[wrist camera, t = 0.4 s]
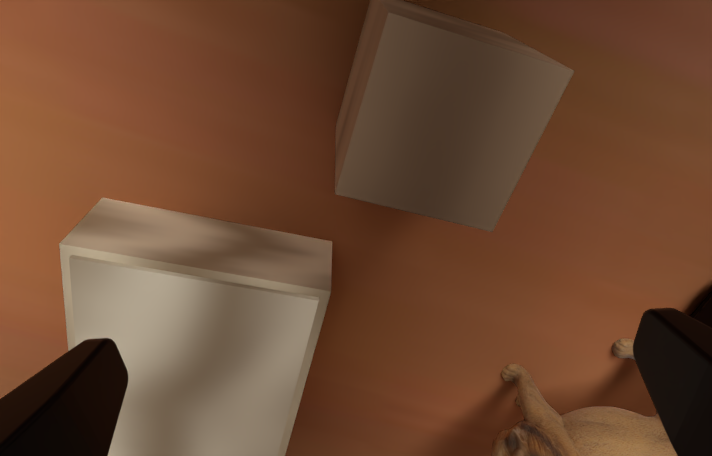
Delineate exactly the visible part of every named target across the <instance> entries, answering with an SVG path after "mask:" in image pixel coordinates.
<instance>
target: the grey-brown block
mask: <svg viewBox="0 0 712 456" xmlns="http://www.w3.org/2000/svg"><path fill="white" fill-rule="evenodd" d="M573 73H574V70H572V69H570V68H568V67H566V66H564V65H563V64H561V63H559V62H557V61H555V60H553V59H551V58H550V57H548V56H546V55H544V54H542V53H540V52H538V51H537V50H535V49H533V48H531V47H529V46H527V45H525V44H524V43H522V42H520V41H518V40H516V39H514V38H513V37H511V36H509V35H507V34H505V33H503V32H500V31H497V30H493V29H490V28H487V27H484V26H481V25H478V24H475V23H472V22H469V21H465V20H462V19H459V18H456V17H453V16H450V15H447V14H444V13H441V12H437V11H434V10H431V9H428V8H425V7H422V6H419V5H416V4H413V3H409V2H406V1H403V0H370V2H369V6H368V10H367V13H366V17H365V21H364V24H363V28H362V32H361V35H360V39H359V42H358V46H357V50H356V53H355V57H354V61H353V64H352V68H351V72H350V75H349V79H348V83H347V86H346V90H345V94H344V97H343V101H342V105H341V108H340V112H339V115H338V119H337V123H336V139H335V194H336V195H340V196H345V197H349V198H353V199H357V200H361V201H365V202H370V203H374V204H378V205H382V206H386V207H390V208H394V209H399V210H403V211H407V212H411V213H415V214H419V215H424V216H428V217H432V218H436V219H440V220H444V221H448V222H453V223H457V224H461V225H465V226H469V227H473V228H478V229H482V230H486V231H490V232H493V230H494V228H495V226H496V224H497V222H498V220H499V218H500V216H501V214H502V212H503V210H504V208H505V206H506V204H507V202H508V200H509V198H510V196H511V194H512V192H513V190H514V188H515V186H516V185H517V183H518V181H519V179H520V177H521V175H522V173H523V171H524V169H525V167H526V165H527V163H528V161H529V159H530V157H531V155H532V153H533V151H534V149H535V147H536V145H537V143H538V141H539V139H540V137H541V135H542V133H543V132H544V130H545V128H546V126H547V124H548V122H549V120H550V118H551V116H552V114H553V112H554V110H555V108H556V106H557V104H558V102H559V100H560V98H561V96H562V94H563V92H564V90H565V88H566V86H567V84H568V82H569V81H570V79H571V77H572V75H573Z"/></svg>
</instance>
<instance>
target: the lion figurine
mask: <svg viewBox="0 0 712 456" xmlns="http://www.w3.org/2000/svg"><path fill="white" fill-rule="evenodd" d="M633 343H634V341H633V340H631V339H628V338H623V339H619V340H618V341H616V342H615V343H614V344H613V348H612V351H613V353H614V355H615V356H617V357H618V358H631V359H634V355H633ZM634 360H635V359H634ZM501 375H502V376H503V379H504V380H505V381H512V382H513V383H514V384H515V386H516V387H517V388H518V396H517V400H516V404H517V405H518V406H520V407H521V410H522V413H523V416H524V420H523V421H520V422H518V423H517V424H515V425H514V426H513V427H512V428H511V429H505V430H504V431H500V432H499V433H498V436H497V438H496V439H495V440H494V441H493V449H492V456H677V454H676V452H675V450H674V448H673V446H672V444H671V442H670V440H669V438H668V436H667V433H666V431H665V429H664V427H663V424H662V422H661V420H660V417H659V415H658V413H656V415H655V416H653V417H646V416H643V415H641V414H638V413H635V412H632V411H628V410H625V409H621V408H616V407H609V406H593V407H586V408H581V409H578V410H574V411H571V412H568V413H565V414H563V415H559V414H558V413H557V412H556V411H555V410H554V409H553V408H552V407H551V406H549V404H548V403H547V402H546V401H545V399H544V398H543V396H542V395H541V393H540V391H539V390H538V388H537V387H536V385H535V383H534V381H533V379H532V377H531V376H530V375H529V373H528V372H527V371H526V370H525V369H524V368H523V367H522V366H521V365H518V364H509V365H507V366H506V367H505V368H503V370H502V372H501ZM656 412H657V410H656Z"/></svg>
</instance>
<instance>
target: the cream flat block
mask: <svg viewBox="0 0 712 456" xmlns="http://www.w3.org/2000/svg"><path fill="white" fill-rule="evenodd" d="M59 247H60V259H61V270H62V282H63V293H64V305H65V317H66V328H67V340H68V351H70V350H71V349H72V348H74V347H75V346H77V345H78V344H80V343H81V342H83V341H84V340H87V339H95V338H110V339H112V340H113V341H114V342H115V343H116V345H117V348H118V350H119V352H120V355H121V357H122V359H123V361H124V364H125V366H126V368H127V371H128V386H127V389H126V393H125V396H124V400H123V403H122V407H121V411H120V414H119V418H118V421H117V425H116V428H115V432H114V435H113V439H112V442H111V446H110V449H109V453H108V456H285V454H286V450H287V447H288V443H289V440H290V436H291V432H292V429H293V425H294V422H295V418H296V415H297V411H298V408H299V404H300V400H301V397H302V393H303V390H304V386H305V383H306V379H307V376H308V372H309V369H310V365H311V361H312V358H313V354H314V351H315V347H316V344H317V340H318V337H319V333H320V329H321V326H322V322H323V319H324V315H325V312H326V308H327V305H328V301H329V297H330V294H331V277H332V241H327V240H322V239H317V238H312V237H306V236H301V235H296V234H291V233H286V232H280V231H275V230H270V229H265V228H259V227H254V226H249V225H244V224H238V223H233V222H228V221H223V220H217V219H212V218H207V217H202V216H197V215H191V214H186V213H181V212H176V211H170V210H165V209H160V208H155V207H149V206H144V205H139V204H134V203H129V202H123V201H118V200H113V199H108V198H101V200H100V201H99V202H98V203H97V204H96V205H95V206H94V207H93V208H92V209H91V210H90V211H89V212H88V213H87V215H86V216H85V217H84V218H83V219H82V220H81V221H80V222H79V223H78V224H77V225H76V226H75V227H74V228H73V230H72V231H71V232H70V233H69V234H68V235H67V236H66V237H65V238H64V239H63V240H62V241H61V242H60V243H59Z"/></svg>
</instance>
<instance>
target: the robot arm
mask: <svg viewBox="0 0 712 456" xmlns="http://www.w3.org/2000/svg"><path fill="white" fill-rule="evenodd" d="M633 355H634V359H635V362H636V364H637V366H638V369H639V371H640V373H641V376H642V378H643V380H644V383H645V385H646V387H647V390H648V392H649V394H650V397H651V399H652V401H653V404H654V406H655V408H656V410H657V413H658V415H659V417H660V420H661V422H662V424H663V427H664V429H665V431H666V433H667V436H668V438H669V440H670V442H671V444H672V446H673V448H674V450H675V452H676V454H677V456H712V292H711V293H710V294H709V295H708V297H707V298H706V299H705V300H704V301H703V302H702V304H701V305H700V306H699V307H698V308H697V309H696V311H695V312H694V313H693V314H692V315H691V317H690V316H688V315H686V314H684V313H682V312H680V311H678V310H676V309H673V308H657V309H649V310H646V311H645V312H644V313H643V316H642V318H641V321H640V324H639V327H638V331H637V334H636V337H635V340H634V343H633ZM127 386H128V371H127V368H126V366H125V364H124V361H123V359H122V357H121V355H120V352H119V350H118V348H117V345H116V343H115V342H114V341H113V340H112V339H110V338H95V339H87V340H84V341H83V342H81V343H80V344H78V345H77V346H75V347H74V348H72V349H71V350H70V351H68V352H67V353H65V354H64V355H62V356H61V357H60V358H58V359H57V360H55V361H54V362H52V363H51V364H50V365H48V366H47V367H45V368H44V369H42V370H41V371H40V372H38V373H37V374H35V375H34V376H32V377H31V378H30V379H28V380H27V381H25V382H24V383H22V384H21V385H20V386H18V387H17V388H15V389H14V390H12V391H11V392H10V393H8V394H7V395H5V396H4V397H2V398H1V399H0V456H108V453H109V449H110V446H111V442H112V439H113V435H114V432H115V428H116V425H117V421H118V418H119V414H120V411H121V407H122V403H123V400H124V396H125V393H126V389H127Z"/></svg>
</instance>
